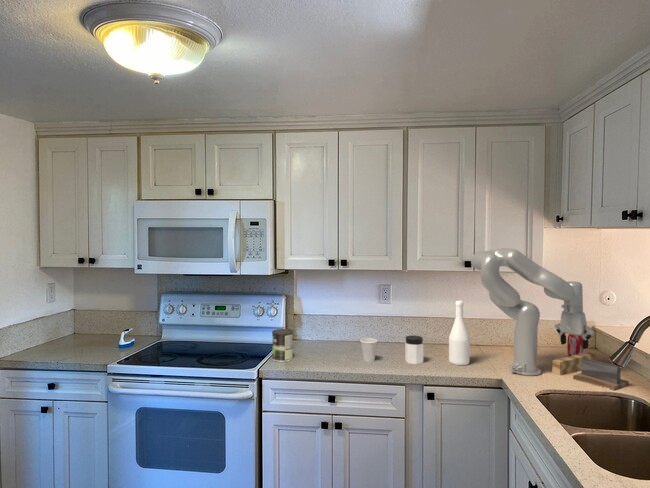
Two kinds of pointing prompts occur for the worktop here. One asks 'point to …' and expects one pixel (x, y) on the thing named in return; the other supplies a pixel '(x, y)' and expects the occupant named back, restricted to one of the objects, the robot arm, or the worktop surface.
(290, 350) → the coffee can
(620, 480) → the worktop surface
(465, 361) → the wine bottle
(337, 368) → the worktop surface
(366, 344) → the dixie cup
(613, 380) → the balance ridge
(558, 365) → the oak beam
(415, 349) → the jar
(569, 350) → the soda can
